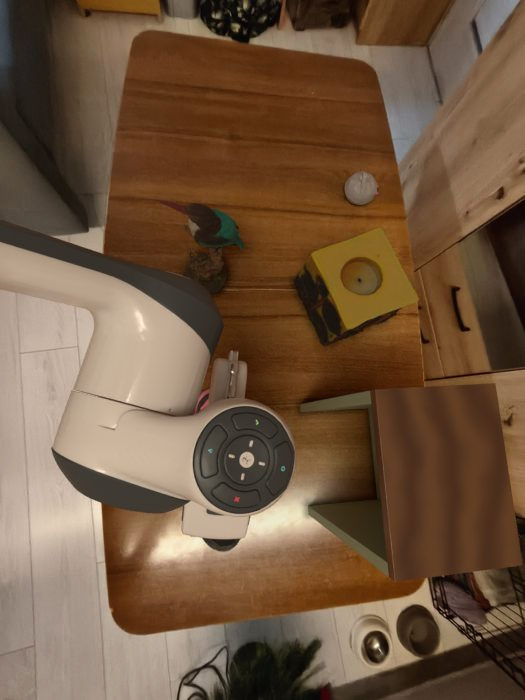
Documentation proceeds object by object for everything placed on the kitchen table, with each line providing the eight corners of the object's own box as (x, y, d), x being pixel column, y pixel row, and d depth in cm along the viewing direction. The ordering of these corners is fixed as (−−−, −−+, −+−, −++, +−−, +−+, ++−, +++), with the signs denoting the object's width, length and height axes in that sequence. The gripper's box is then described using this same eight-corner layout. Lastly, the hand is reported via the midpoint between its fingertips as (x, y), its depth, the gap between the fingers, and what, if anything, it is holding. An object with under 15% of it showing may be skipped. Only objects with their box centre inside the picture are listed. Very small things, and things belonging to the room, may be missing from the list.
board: (388, 577, 46) (394, 582, 44) (369, 390, 49) (374, 389, 48) (513, 561, 48) (523, 565, 47) (487, 384, 51) (495, 383, 50)
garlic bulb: (371, 213, 91) (387, 193, 83) (339, 208, 90) (353, 188, 82) (371, 185, 92) (388, 162, 84) (340, 180, 91) (354, 157, 83)
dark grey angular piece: (308, 514, 78) (388, 577, 46) (300, 404, 81) (369, 390, 49) (385, 506, 80) (513, 561, 48) (374, 400, 84) (487, 384, 51)
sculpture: (166, 250, 82) (155, 176, 58) (239, 257, 84) (258, 189, 60) (163, 290, 81) (150, 232, 56) (237, 297, 83) (255, 244, 58)
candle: (385, 322, 87) (423, 301, 72) (321, 349, 84) (348, 333, 69) (354, 256, 88) (385, 223, 74) (290, 281, 85) (309, 252, 71)
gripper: (206, 342, 44) (201, 361, 58) (178, 551, 41) (180, 520, 54) (265, 350, 45) (247, 367, 59) (243, 555, 42) (229, 523, 55)
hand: (215, 441), depth 56 cm, fingers open, 8 cm apart
